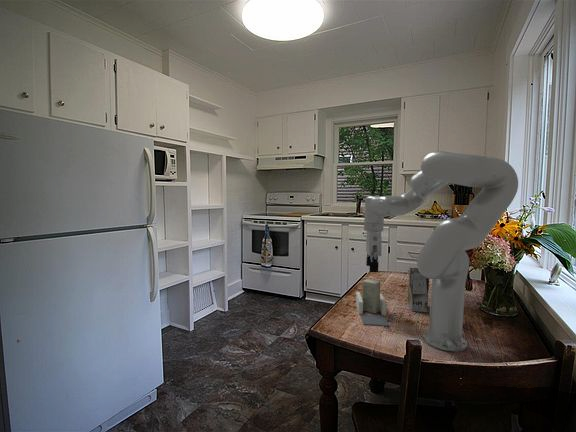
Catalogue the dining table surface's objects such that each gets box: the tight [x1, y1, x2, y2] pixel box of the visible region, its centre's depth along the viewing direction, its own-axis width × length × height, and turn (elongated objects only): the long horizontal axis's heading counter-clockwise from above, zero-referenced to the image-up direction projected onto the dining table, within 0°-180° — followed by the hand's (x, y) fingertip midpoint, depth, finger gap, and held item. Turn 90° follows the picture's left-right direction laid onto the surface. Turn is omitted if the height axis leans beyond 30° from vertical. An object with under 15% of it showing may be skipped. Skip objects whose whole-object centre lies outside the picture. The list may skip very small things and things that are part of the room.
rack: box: [355, 291, 388, 317], centre depth 127 cm, size 12×10×5 cm
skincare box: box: [361, 278, 381, 314], centre depth 125 cm, size 6×4×12 cm
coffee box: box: [407, 267, 430, 313], centre depth 129 cm, size 9×6×16 cm
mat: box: [360, 313, 390, 327], centre depth 116 cm, size 9×9×1 cm
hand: (371, 268), depth 125 cm, fingers open, 9 cm apart
